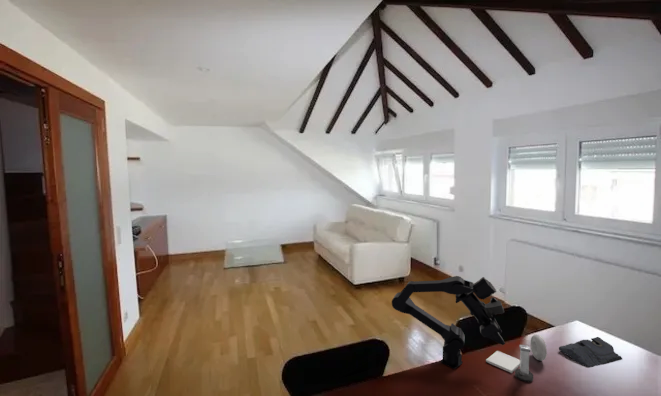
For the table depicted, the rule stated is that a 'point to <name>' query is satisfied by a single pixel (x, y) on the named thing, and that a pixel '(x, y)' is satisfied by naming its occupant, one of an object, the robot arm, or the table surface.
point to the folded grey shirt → (591, 352)
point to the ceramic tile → (504, 361)
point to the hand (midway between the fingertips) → (502, 338)
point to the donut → (538, 347)
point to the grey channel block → (524, 365)
